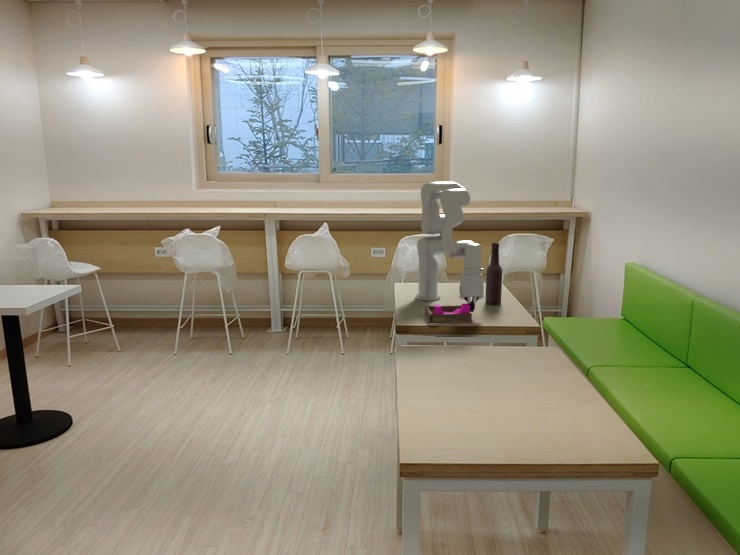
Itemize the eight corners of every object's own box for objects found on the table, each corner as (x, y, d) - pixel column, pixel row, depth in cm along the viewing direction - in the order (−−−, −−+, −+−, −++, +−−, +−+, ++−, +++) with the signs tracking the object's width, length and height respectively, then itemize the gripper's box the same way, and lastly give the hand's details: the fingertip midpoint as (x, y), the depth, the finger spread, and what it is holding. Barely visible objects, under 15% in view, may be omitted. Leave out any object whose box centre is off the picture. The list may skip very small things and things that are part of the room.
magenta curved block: (465, 318, 264) (466, 302, 262) (469, 322, 257) (470, 305, 256) (432, 319, 262) (433, 303, 260) (436, 323, 256) (436, 306, 254)
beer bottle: (495, 300, 293) (498, 241, 287) (503, 304, 286) (506, 243, 280) (482, 302, 291) (484, 242, 285) (490, 305, 284) (492, 244, 278)
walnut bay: (424, 314, 269) (424, 306, 268) (463, 313, 270) (463, 305, 269) (430, 323, 255) (430, 314, 254) (471, 322, 256) (471, 313, 255)
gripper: (486, 269, 263) (485, 308, 267) (453, 269, 262) (452, 309, 266) (491, 272, 256) (489, 313, 259) (457, 273, 255) (456, 313, 258)
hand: (470, 311), depth 263 cm, fingers closed
